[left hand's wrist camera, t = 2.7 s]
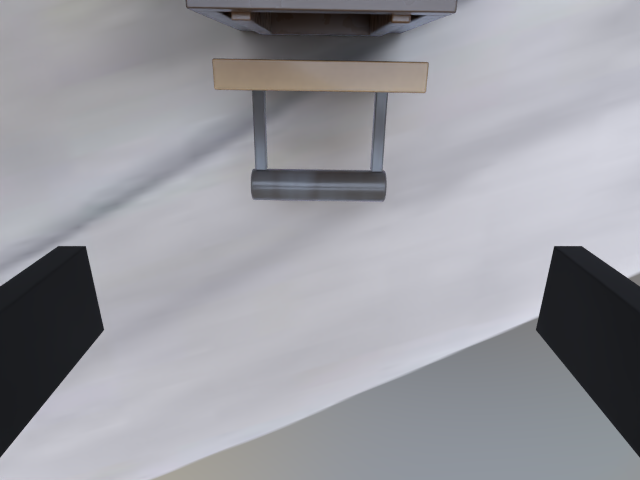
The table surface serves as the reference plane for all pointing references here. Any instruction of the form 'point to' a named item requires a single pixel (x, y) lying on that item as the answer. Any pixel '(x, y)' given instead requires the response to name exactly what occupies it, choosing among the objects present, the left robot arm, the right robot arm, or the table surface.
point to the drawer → (319, 78)
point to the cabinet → (327, 9)
